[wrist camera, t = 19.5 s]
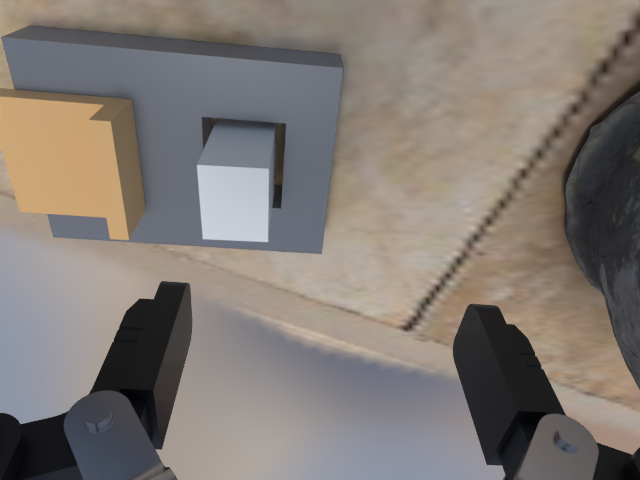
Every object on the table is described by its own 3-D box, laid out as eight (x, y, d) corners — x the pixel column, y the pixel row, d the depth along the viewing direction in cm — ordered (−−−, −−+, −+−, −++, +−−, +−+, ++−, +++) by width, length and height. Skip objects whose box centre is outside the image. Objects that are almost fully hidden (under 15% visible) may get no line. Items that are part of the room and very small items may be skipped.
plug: (220, 110, 34) (196, 164, 27) (277, 113, 34) (268, 168, 27) (223, 173, 37) (202, 239, 29) (275, 176, 37) (268, 242, 30)
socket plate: (29, 25, 31) (1, 37, 28) (339, 54, 32) (343, 68, 29) (72, 212, 38) (53, 237, 36) (320, 229, 40) (321, 253, 37)
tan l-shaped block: (-3, 88, 29) (-41, 109, 26) (131, 99, 30) (110, 121, 27) (29, 201, 34) (0, 232, 30) (145, 209, 34) (129, 240, 31)
